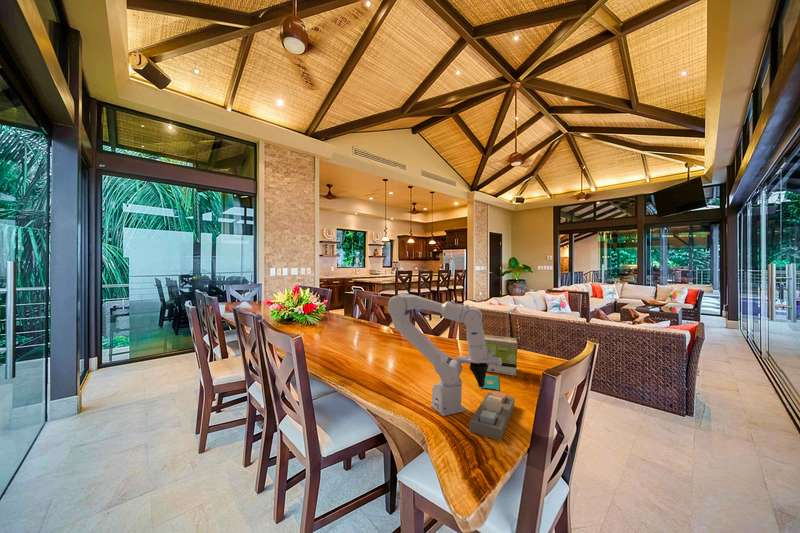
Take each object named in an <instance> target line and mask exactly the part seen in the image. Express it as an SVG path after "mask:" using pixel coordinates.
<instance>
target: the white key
mask: <svg viewBox="0 0 800 533" xmlns="http://www.w3.org/2000/svg"><path fill="white" fill-rule="evenodd" d="M486 410H487V411H491V412H495V413H499V414H501V412H502V398H499V397H495V396H490V395H489V397H488V398H487V401H486Z"/></svg>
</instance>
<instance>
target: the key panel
mask: <svg viewBox="0 0 800 533" xmlns="http://www.w3.org/2000/svg"><path fill="white" fill-rule="evenodd" d="M493 393H494V392H490V391H488V392H487V393H486V395H485V396H484V398H483V400H482V402H481V403H480V404H479V406H478V407H477V409H476V410H475V412H474V414H473V416H472V417H471V419H470V420H469V424H468V426H469V429H468V432H469V433H473V434H476V435H479V436H483V437H486V438H491V439H495V440H498V441H502V439H503V436H504V435H505V431H506V429H507V426H508V423H509V420H510V419H511V416H512V413H513V411H514V408H515V403H516V402H515V400H516V397H513V396H509V395H508V396H507V395H506V403H505V404H504V403H502V412H501V414H499V413H497V421H496V425H495V426H494V425H491V424H487V423H483V422H480V415H481V413H482V411H483V410H486V401H487V398H488V397H489V395H490V396H492V394H493ZM486 411H487V410H486ZM490 412H491V411H490ZM494 413H495V412H494Z"/></svg>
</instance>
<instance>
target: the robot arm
mask: <svg viewBox="0 0 800 533" xmlns="http://www.w3.org/2000/svg"><path fill="white" fill-rule="evenodd" d="M414 309H422V310H426V311H431V312H435V313H438V314H439V313H440V315H441V316H442V318H443V319H448V320H451V321H454V322H458V323H461V324H462V323H463V324H464V325H465V329H466V330H465V334H466V342H467V343H466V344H467V349H468V355H466V356H465V355H463V356H461V355H460V356H457V357H456V358H453V357H451V356H450V355H449V354H448V353H446V352H443V351H442V350H441V349H440V348H439V347H438V346H437V345H435V343H433V341H431V340H430V339H429V338H428V337H427V336H426V335H424V333H422V332H421V330H419V328H417V326H415V324H413V323H412V321H411V320H410V319H411V318H410V314H411V310H414ZM387 312H388V314H389V315H390V317H391V321H392V323H393V326H394V328H395V330H397V332H399V333H400V334H401V336H402V337H403V338H405V339H406V340H407V341H408V342H409V343H410V344H411V345H412V346H413V347H414V348H415V349H416V350H417V351H418V352H419V353H420V354H422V356H424V357H425V358H426V360H428V361H429V362H430V363H431V364H432V366H433V368H434V371H435V372H436V374H438V376H439V378H440V381H438V382H437V383H435V384H433V386H432V389H431V404H430V407H432V408H433V409H434V410H435V411H437V412H438V413H439V414H440V415H442V417H446V416H450V415H453V414H457V413H462V412H466V411H467V408H466V407H465V406H463V405H462V394H463V393H462V392H463V391H462V388H463V381H462V379H461V377H460V376H461V374H462V373H463V372H462V371H463V366H462V364H469V370H470V371H471V373H472V374H473V376H474V377H475V380H476V382H477V386H478V388H481V387H484V385H485V376H486V375H487V372H488V371H487V368H488V365H489V364H491V365H498V366H501V365H502V359H501V358H497V357H490V356H487V352H486V344H485V336H484V335H485V331H484V324H483V322H482V321H483V313H482V311H481V310H480V309H479V308H478V307H476V306H474V305H473V306H472V305H471V306H470V305H469V304H466V305H464V304H459V303H456V302H455V300H452V299H451V301H448V300H447V301H445V302H444V303H442V302H438V301H435V300H431V299H428V298H426V297H422V296H419V295H415V294H410V293H409V294H408V293H400V294H397V295H394V296H391V297H390V298H389V300H388V303H387Z"/></svg>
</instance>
